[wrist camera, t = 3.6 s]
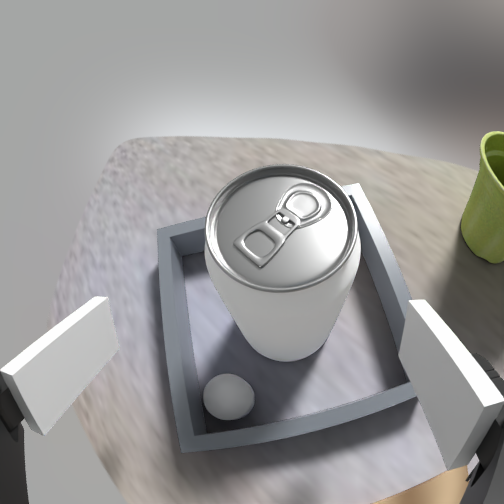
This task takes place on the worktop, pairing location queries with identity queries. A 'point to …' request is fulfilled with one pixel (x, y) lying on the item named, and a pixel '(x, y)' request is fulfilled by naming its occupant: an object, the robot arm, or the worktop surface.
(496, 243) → the plant pot
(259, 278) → the can
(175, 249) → the tray
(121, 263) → the worktop surface
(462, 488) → the pad
